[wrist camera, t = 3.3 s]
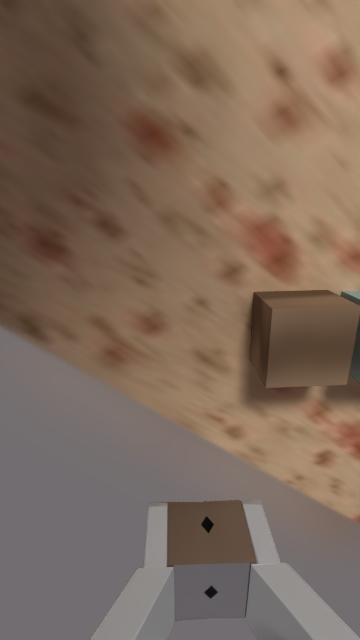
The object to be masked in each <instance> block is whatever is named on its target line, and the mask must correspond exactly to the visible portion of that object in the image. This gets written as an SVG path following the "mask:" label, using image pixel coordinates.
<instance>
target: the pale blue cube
mask: <svg viewBox="0 0 360 640" xmlns="http://www.w3.org/2000/svg"><path fill="white" fill-rule="evenodd" d="M341 297H343V298H345V299H347V300H349V301H351V302H353V303H355V304H357V305H359V306H360V291H342V293H341ZM349 374H350V375H351V376H352V377H353V378H354V379H356V380H357V381H358V382H359V383H360V316H359V321H358V327H357V332H356V338H355V343H354V349H353V354H352V360H351V365H350V371H349Z"/></svg>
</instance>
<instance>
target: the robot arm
mask: <svg viewBox="0 0 360 640" xmlns="http://www.w3.org/2000/svg"><path fill="white" fill-rule="evenodd" d="M205 618H246V622H247V623H248V625H249V627H250V628H251V630H252V631H253V632H254V634H255V636H256V637H257V639H258V640H360V638H359V637H358V636H357V635H356V634H355V633H354V632H353V631H352V630H351V629H350V628H349V627H348V626H347V625H346V624H345V623H344V622H343V621H342V620H341V619H340V618H339V616H338V615H337V614H336V613H335V612H334V611H333V610H332V609H331V608H330V607H329V606H328V605H327V604H326V603H325V602H324V601H323V600H322V599H321V598H320V597H319V596H318V595H317V594H316V593H315V591H314V590H313V589H312V588H311V587H310V586H309V585H308V584H307V583H306V582H305V581H304V580H303V579H302V578H301V577H300V576H299V575H298V574H297V573H296V572H295V571H294V570H293V569H292V568H291V566H290V565H289V564H288V563H281V562H280V559H279V556H278V553H277V549H276V546H275V543H274V540H273V537H272V534H271V531H270V528H269V525H268V522H267V519H266V516H265V513H264V510H263V507H262V503H261V502H260V501H259V500H241V501H240V500H229V501H228V500H226V501H204V502H150V503H149V505H148V510H147V525H146V537H145V550H144V563H143V568H137V569H136V570H135V572H134V573H133V575H132V577H131V578H130V579H129V581H128V582H127V584H126V586H125V587H124V589H123V590H122V591H121V593H120V595H119V596H118V598H117V599H116V601H115V602H114V604H113V605H112V607H111V608H110V610H109V611H108V613H107V614H106V616H105V617H104V619H103V620H102V622H101V623H100V625H99V626H98V628H97V629H96V631H95V632H94V634H93V635H92V637H91V638H90V640H168V638H169V636H170V633H171V631H172V629H173V626H174V623H175V622H174V621H178V620H191V619H205Z"/></svg>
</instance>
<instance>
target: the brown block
mask: <svg viewBox="0 0 360 640" xmlns="http://www.w3.org/2000/svg"><path fill="white" fill-rule="evenodd" d="M359 316H360V306H359V305H357V304H355V303H353V302H351V301H349V300H347V299H345V298H343V297H341V296H339V295H337V294H335V293H332V292H330V291H328V290H311V291H274V292H254V300H253V316H252V332H251V348H250V361H251V362H252V364H253V366H254V368H255V369H256V371H257V373H258V375H259V377H260V378H261V380H262V382H263V384H264V385H265V387H266V388H277V387H304V386H331V385H347V382H348V376H349V371H350V365H351V360H352V354H353V349H354V343H355V338H356V332H357V327H358V321H359Z"/></svg>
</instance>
